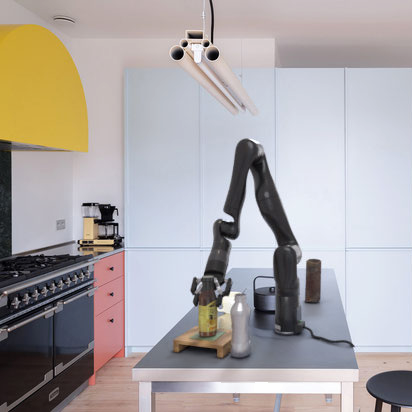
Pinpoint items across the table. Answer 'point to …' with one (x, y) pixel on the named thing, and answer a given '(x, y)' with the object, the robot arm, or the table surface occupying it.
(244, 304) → the plastic bottle
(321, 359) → the table surface
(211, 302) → the sauce bottle
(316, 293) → the rusty brown cylinder
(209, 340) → the wooden stand
